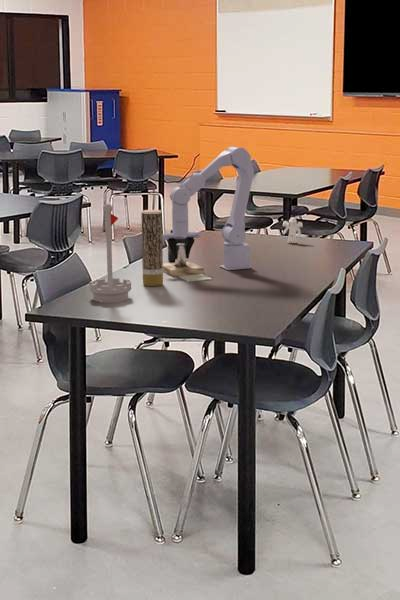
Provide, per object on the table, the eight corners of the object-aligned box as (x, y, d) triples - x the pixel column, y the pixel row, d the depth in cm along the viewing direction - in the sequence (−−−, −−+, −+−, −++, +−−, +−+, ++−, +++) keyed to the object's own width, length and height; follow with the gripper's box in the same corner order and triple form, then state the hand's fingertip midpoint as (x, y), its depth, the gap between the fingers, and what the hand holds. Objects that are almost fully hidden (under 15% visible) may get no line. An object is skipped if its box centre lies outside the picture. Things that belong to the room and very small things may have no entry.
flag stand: (114, 305, 274) (111, 207, 267) (81, 300, 281) (77, 204, 274) (139, 296, 285) (137, 202, 278) (107, 292, 292) (104, 200, 285)
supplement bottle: (165, 262, 343) (164, 231, 341) (172, 259, 350) (171, 228, 347) (181, 263, 341) (181, 231, 338) (188, 260, 347) (188, 229, 344)
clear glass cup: (184, 264, 327) (184, 243, 325) (187, 266, 323) (187, 245, 322) (174, 265, 326) (173, 243, 324) (177, 267, 322) (177, 245, 320)
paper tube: (166, 283, 305) (164, 210, 299) (158, 287, 298) (157, 212, 293) (147, 282, 307) (146, 209, 301) (139, 286, 300) (138, 212, 295)
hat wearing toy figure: (303, 243, 384) (304, 215, 381) (300, 244, 381) (300, 216, 378) (283, 241, 388) (284, 214, 385) (280, 242, 385) (280, 215, 382)
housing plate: (189, 266, 333) (189, 261, 333) (203, 273, 321) (203, 267, 320) (158, 269, 329) (158, 263, 329) (172, 276, 316) (172, 270, 316)
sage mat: (202, 275, 318) (202, 273, 318) (212, 279, 310) (212, 278, 310) (178, 277, 315) (178, 276, 315) (188, 281, 307) (187, 280, 307)
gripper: (196, 218, 327) (196, 255, 330) (157, 220, 322) (158, 258, 325) (202, 221, 320) (202, 258, 323) (163, 223, 316) (163, 261, 319)
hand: (180, 258), depth 324 cm, fingers closed on clear glass cup, 4 cm apart
